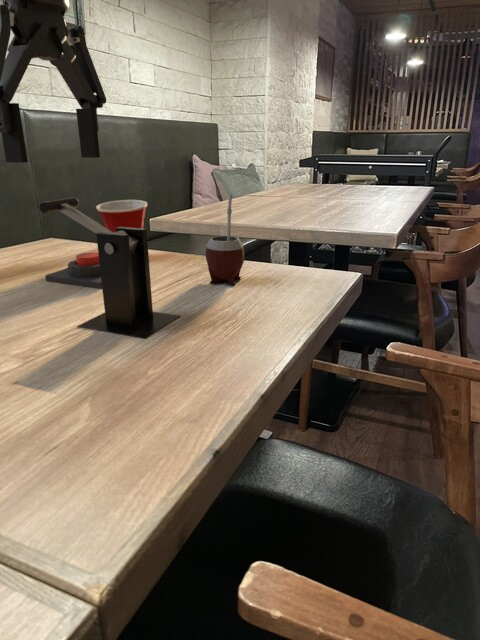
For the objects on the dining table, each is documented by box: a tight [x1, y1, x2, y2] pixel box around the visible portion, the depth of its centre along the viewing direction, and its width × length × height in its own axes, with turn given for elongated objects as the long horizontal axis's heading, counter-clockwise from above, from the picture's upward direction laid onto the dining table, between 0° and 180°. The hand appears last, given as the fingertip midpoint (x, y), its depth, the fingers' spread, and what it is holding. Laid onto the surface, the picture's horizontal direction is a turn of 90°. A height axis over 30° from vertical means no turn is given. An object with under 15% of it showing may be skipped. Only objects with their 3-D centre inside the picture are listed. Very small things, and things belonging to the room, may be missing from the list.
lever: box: [39, 196, 138, 256], centre depth 66 cm, size 13×6×2 cm, turn 66°
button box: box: [44, 259, 102, 290], centre depth 90 cm, size 12×10×4 cm
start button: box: [75, 251, 100, 266], centre depth 89 cm, size 4×4×2 cm
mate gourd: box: [205, 194, 246, 287], centre depth 89 cm, size 8×8×15 cm
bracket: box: [76, 227, 181, 340], centre depth 67 cm, size 11×9×14 cm
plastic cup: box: [95, 199, 148, 233], centre depth 107 cm, size 11×11×12 cm
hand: (57, 160), depth 65 cm, fingers open, 13 cm apart
